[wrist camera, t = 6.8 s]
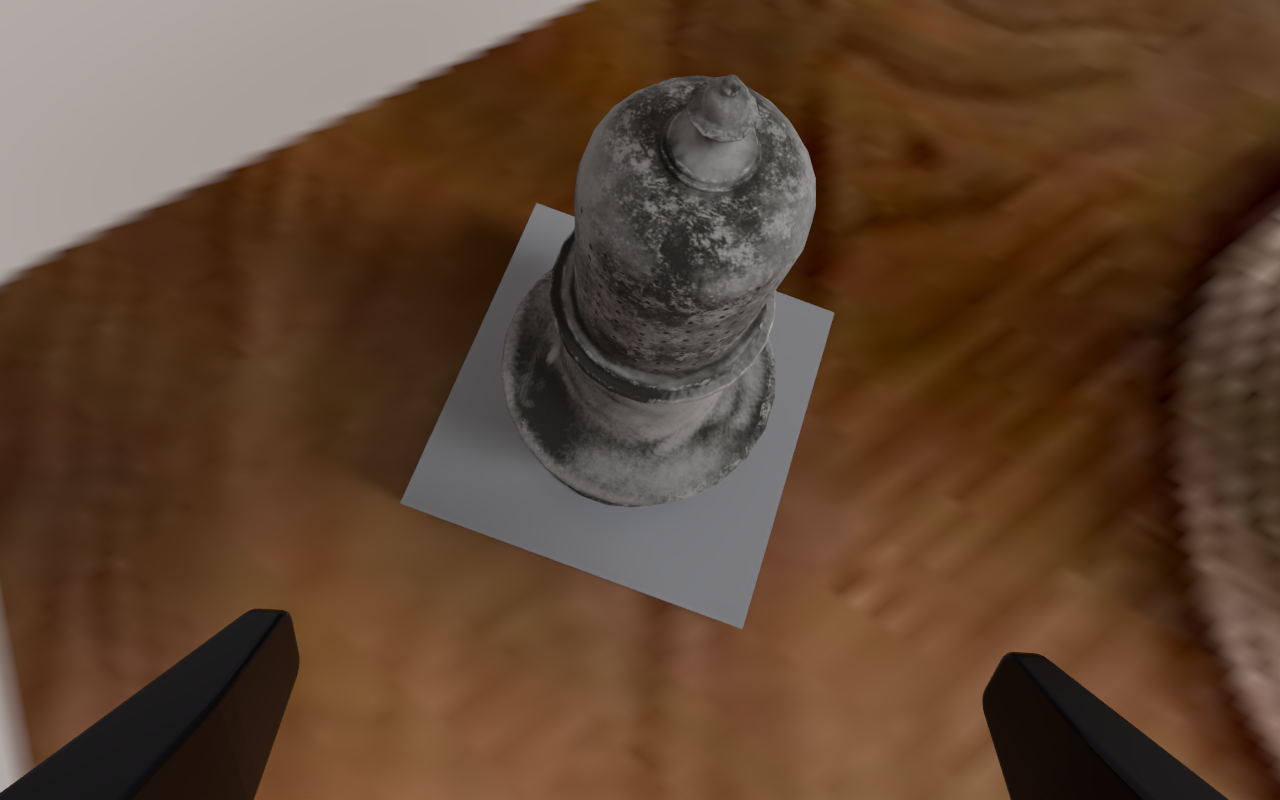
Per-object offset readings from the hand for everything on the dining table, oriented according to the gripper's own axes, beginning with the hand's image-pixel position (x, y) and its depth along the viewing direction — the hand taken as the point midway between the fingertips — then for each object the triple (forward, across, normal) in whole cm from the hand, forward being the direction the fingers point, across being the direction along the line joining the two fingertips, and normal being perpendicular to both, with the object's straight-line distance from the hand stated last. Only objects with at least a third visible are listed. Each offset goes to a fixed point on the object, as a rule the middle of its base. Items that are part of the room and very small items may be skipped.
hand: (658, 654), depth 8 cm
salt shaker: (+10, 0, +2) cm, 10 cm away
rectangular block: (+12, 0, +4) cm, 12 cm away
